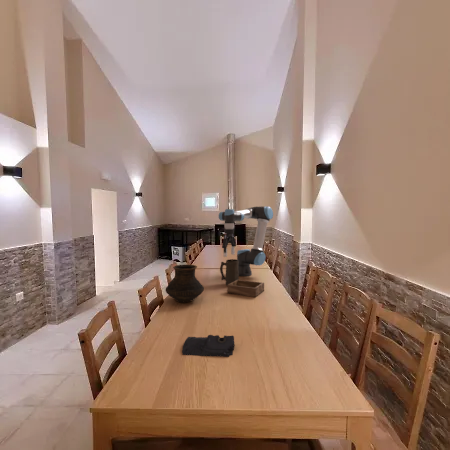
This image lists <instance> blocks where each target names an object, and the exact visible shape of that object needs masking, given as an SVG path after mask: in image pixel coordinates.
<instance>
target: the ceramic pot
mask: <svg viewBox="0 0 450 450" xmlns="http://www.w3.org/2000/svg"><path fill="white" fill-rule="evenodd" d="M197 268H198V266H197V265H194V264H177V265H174V266H172V269H174V272H175V273H174V277H173V278H172V279H171V281H170V282H169V283H168V285H167V286H166V287H165V293H166V295H168V296H169V297H170V298H172V299H174V300H176V301H177V302H178V303H190V302H193V301H194V300H195V299H197V298H198V297H199V296H200V295H201V294H203V292H204V291H205V287H204V285H203V284H202V283H201V282H200V280H198V278H197V277H196V269H197Z"/></svg>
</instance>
